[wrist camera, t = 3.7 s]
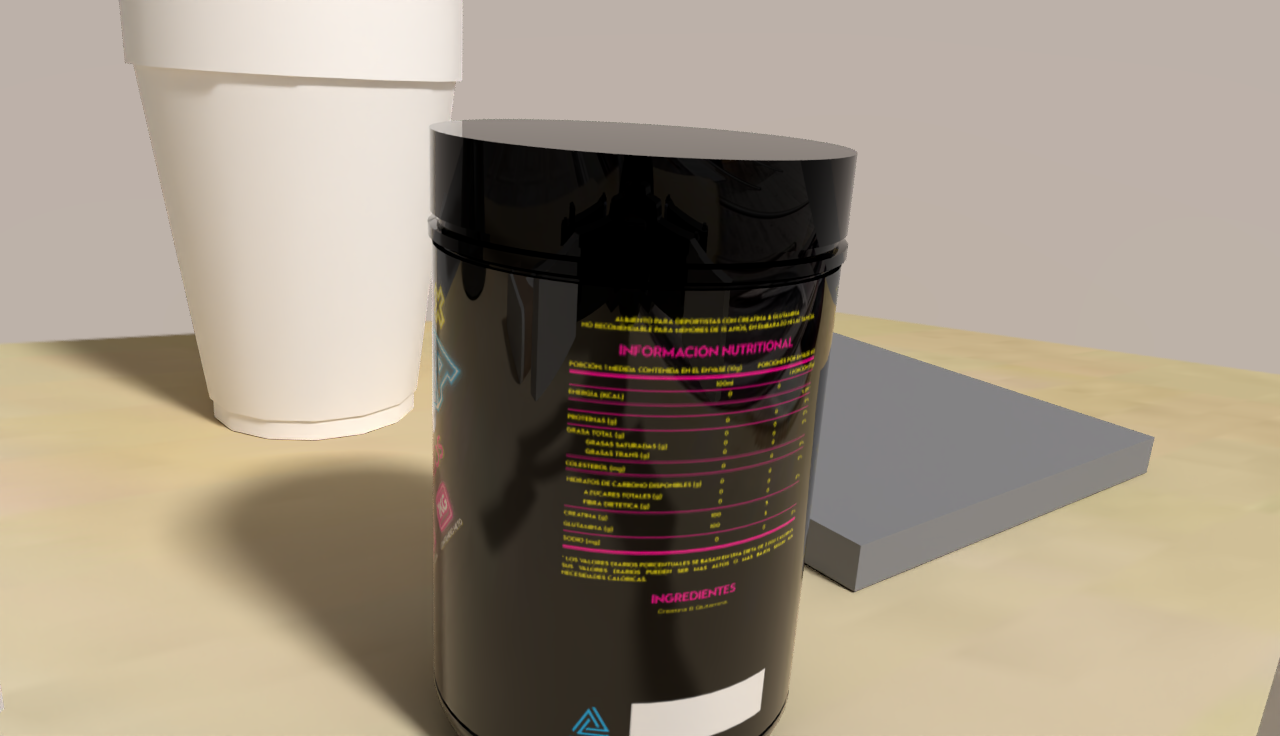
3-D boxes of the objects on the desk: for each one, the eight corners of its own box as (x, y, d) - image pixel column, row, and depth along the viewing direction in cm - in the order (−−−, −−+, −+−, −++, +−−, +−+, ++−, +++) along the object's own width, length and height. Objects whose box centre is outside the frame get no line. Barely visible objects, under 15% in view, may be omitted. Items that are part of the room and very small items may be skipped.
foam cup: (473, 367, 37) (476, 7, 33) (445, 463, 28) (444, -12, 24) (217, 359, 36) (189, -12, 32) (106, 454, 28) (50, -39, 24)
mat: (540, 408, 33) (541, 375, 33) (820, 356, 41) (824, 329, 41) (854, 592, 23) (860, 545, 22) (1146, 472, 31) (1154, 437, 31)
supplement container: (657, 572, 23) (689, 122, 20) (865, 738, 18) (954, 159, 15) (379, 651, 19) (365, 114, 16) (536, 889, 14) (561, 160, 11)
